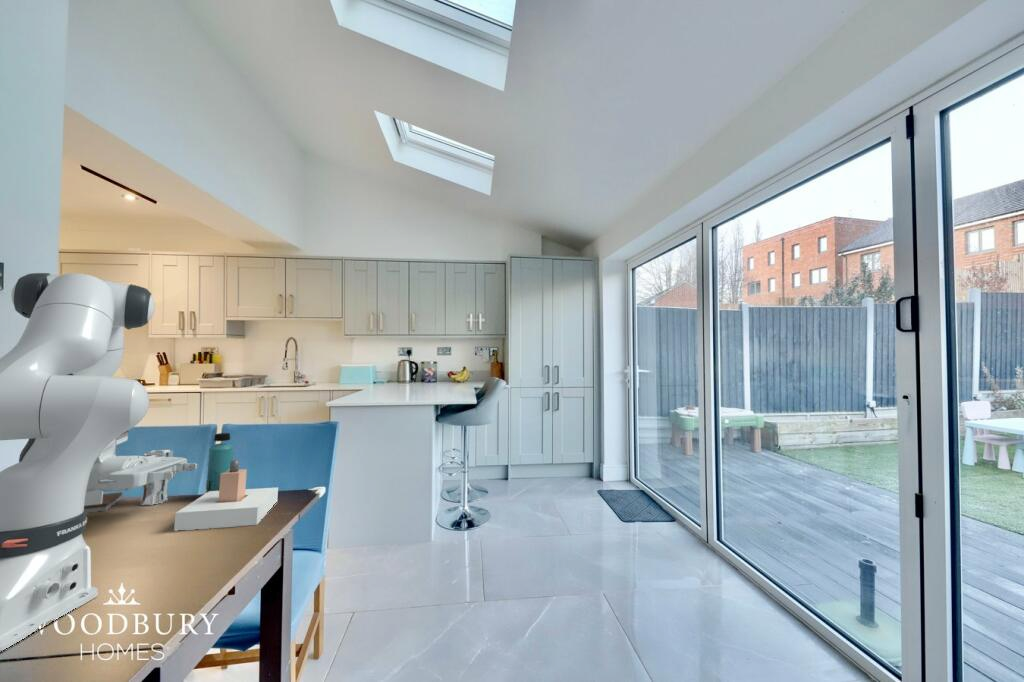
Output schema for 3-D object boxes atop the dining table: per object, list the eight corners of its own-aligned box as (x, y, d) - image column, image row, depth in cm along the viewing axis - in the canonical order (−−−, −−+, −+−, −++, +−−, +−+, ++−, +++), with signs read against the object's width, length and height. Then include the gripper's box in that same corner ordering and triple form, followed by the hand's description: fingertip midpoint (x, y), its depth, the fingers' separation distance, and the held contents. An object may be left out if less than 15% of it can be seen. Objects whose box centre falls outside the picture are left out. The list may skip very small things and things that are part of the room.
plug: (235, 518, 106) (239, 462, 107) (217, 519, 105) (221, 462, 106) (243, 512, 110) (247, 458, 111) (225, 513, 109) (230, 458, 110)
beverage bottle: (235, 494, 125) (240, 432, 127) (218, 501, 118) (223, 435, 120) (217, 493, 126) (222, 431, 127) (198, 500, 119) (204, 434, 121)
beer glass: (146, 499, 119) (151, 449, 120) (174, 498, 121) (178, 449, 122) (132, 507, 112) (137, 454, 113) (161, 505, 114) (166, 453, 116)
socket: (256, 524, 101) (257, 507, 102) (173, 531, 96) (175, 512, 97) (277, 502, 119) (278, 487, 119) (208, 507, 114) (209, 491, 114)
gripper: (93, 469, 93) (159, 467, 96) (153, 453, 113) (207, 452, 116) (90, 496, 93) (157, 493, 95) (151, 475, 113) (205, 474, 115)
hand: (184, 470), depth 106 cm, fingers open, 8 cm apart
